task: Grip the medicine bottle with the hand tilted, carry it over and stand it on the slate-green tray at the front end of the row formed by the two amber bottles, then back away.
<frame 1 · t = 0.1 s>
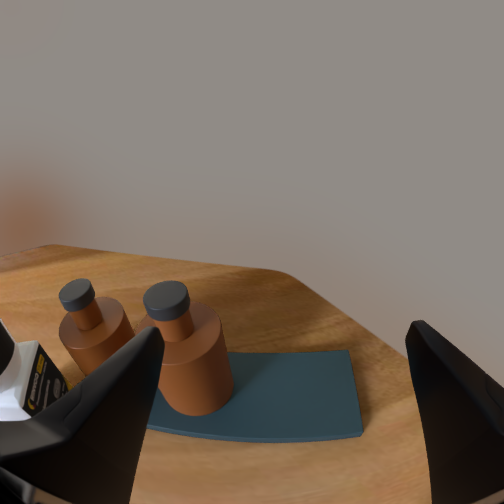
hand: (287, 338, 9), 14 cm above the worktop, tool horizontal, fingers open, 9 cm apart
medicine bottle: (46, 417, 17), on the worktop
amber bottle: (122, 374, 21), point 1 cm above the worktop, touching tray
tray: (211, 395, 21), on the worktop
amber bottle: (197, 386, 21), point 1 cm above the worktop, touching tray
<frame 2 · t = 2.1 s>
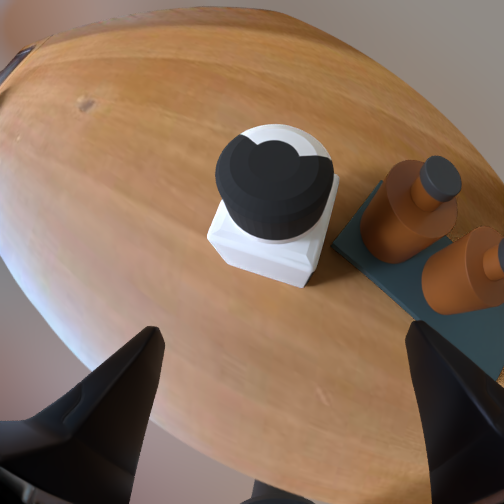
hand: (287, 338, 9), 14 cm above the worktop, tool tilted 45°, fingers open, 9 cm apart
medicine bottle: (277, 239, 24), on the worktop
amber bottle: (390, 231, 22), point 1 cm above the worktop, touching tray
tray: (446, 293, 21), on the worktop
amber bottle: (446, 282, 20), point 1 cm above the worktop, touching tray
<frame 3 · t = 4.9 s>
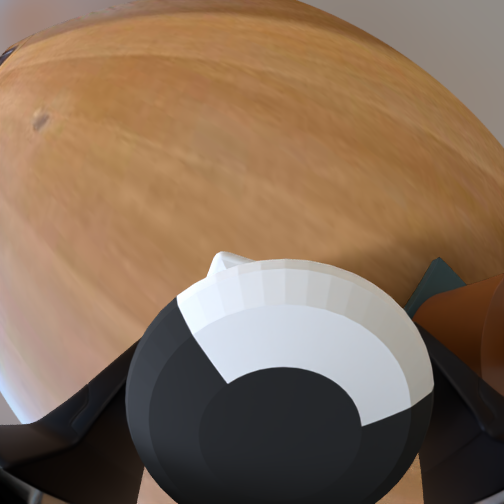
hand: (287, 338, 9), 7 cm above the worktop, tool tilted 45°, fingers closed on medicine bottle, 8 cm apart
medicine bottle: (280, 357, 15), on the worktop, touching gripper
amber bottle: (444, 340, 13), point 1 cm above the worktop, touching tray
tray: (490, 400, 12), on the worktop
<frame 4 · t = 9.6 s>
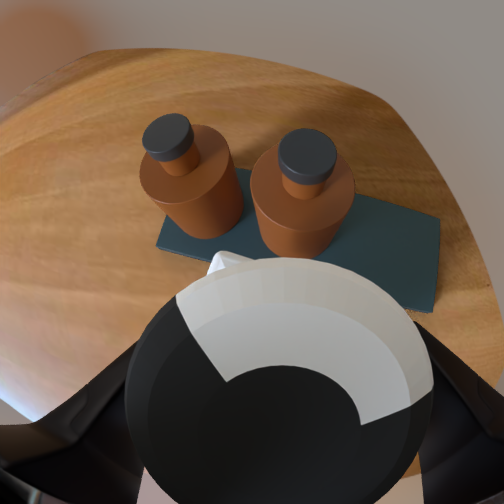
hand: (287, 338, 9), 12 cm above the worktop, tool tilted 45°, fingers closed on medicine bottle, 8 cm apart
medicine bottle: (280, 356, 15), point 5 cm above the worktop, touching gripper
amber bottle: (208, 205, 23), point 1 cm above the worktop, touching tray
tray: (307, 233, 22), on the worktop
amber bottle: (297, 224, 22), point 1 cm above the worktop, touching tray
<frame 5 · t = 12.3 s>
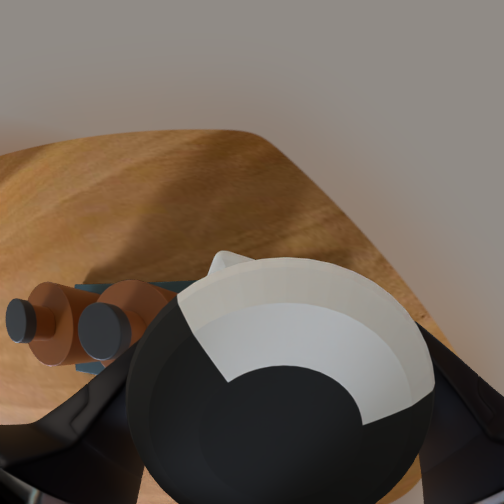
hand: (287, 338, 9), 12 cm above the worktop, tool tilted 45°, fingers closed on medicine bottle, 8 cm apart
medicine bottle: (281, 356, 15), point 6 cm above the worktop, touching gripper
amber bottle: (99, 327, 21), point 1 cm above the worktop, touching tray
tray: (189, 333, 21), on the worktop
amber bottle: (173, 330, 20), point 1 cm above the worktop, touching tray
when the fingers open (8 cm above the worktop, at t = 14.5 s): medicine bottle stays where it is, resting on tray.
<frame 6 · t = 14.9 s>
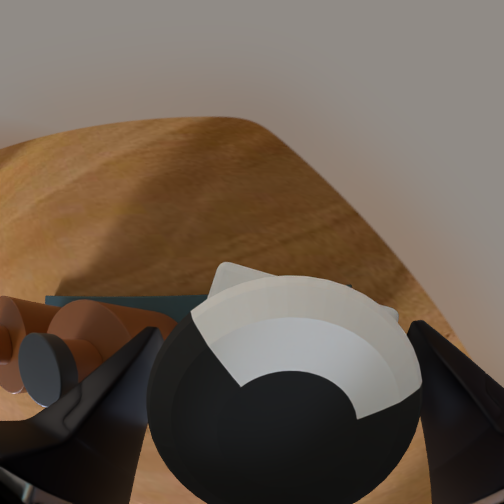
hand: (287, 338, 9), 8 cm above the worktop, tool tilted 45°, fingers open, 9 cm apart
medicine bottle: (282, 357, 16), point 1 cm above the worktop, touching tray
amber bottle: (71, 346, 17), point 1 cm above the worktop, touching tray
tray: (171, 358, 17), on the worktop
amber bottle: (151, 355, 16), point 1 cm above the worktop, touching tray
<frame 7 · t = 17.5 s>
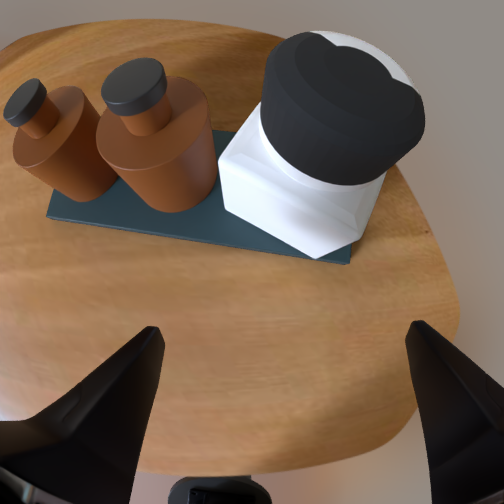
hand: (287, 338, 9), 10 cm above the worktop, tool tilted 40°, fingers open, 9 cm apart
medicine bottle: (293, 192, 19), point 1 cm above the worktop, touching tray
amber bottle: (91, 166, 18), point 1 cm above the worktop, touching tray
tray: (190, 182, 19), on the worktop
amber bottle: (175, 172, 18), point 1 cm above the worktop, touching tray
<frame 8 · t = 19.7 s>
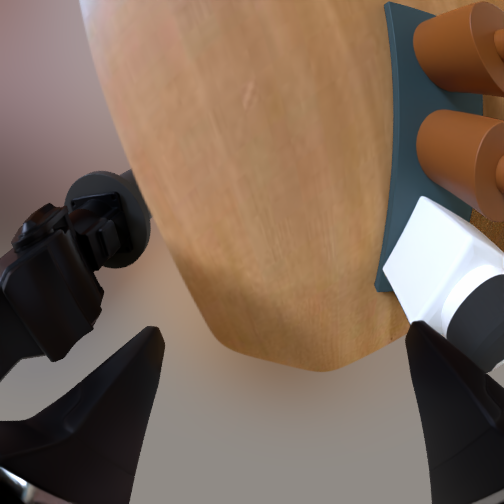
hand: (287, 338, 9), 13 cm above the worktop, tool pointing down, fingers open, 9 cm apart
medicine bottle: (429, 244, 20), point 1 cm above the worktop, touching tray
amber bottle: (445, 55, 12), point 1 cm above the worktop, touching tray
tray: (437, 157, 17), on the worktop
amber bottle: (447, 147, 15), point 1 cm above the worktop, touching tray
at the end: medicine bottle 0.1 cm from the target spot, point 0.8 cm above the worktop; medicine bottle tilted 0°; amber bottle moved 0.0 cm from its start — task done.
